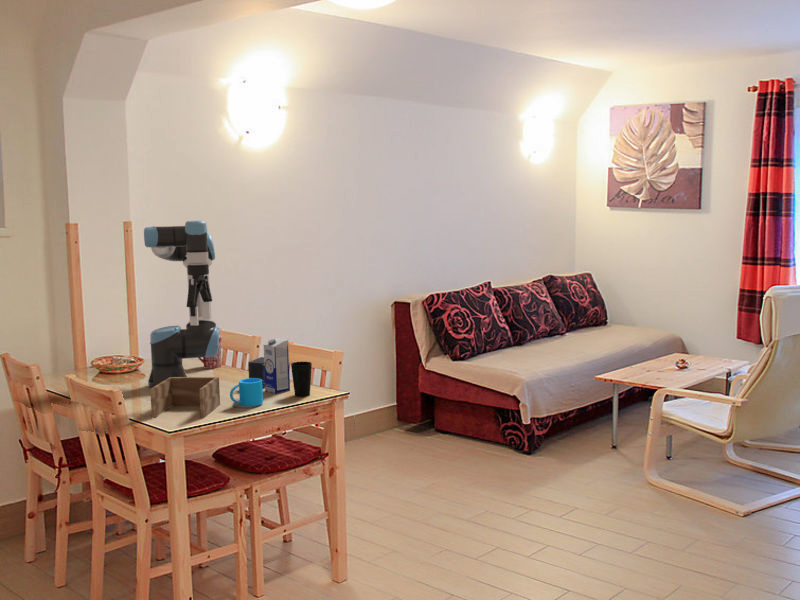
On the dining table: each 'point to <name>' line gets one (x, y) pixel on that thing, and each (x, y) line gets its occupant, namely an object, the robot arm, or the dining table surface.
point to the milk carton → (276, 365)
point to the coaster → (243, 406)
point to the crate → (186, 394)
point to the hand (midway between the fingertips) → (200, 322)
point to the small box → (257, 369)
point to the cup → (301, 378)
